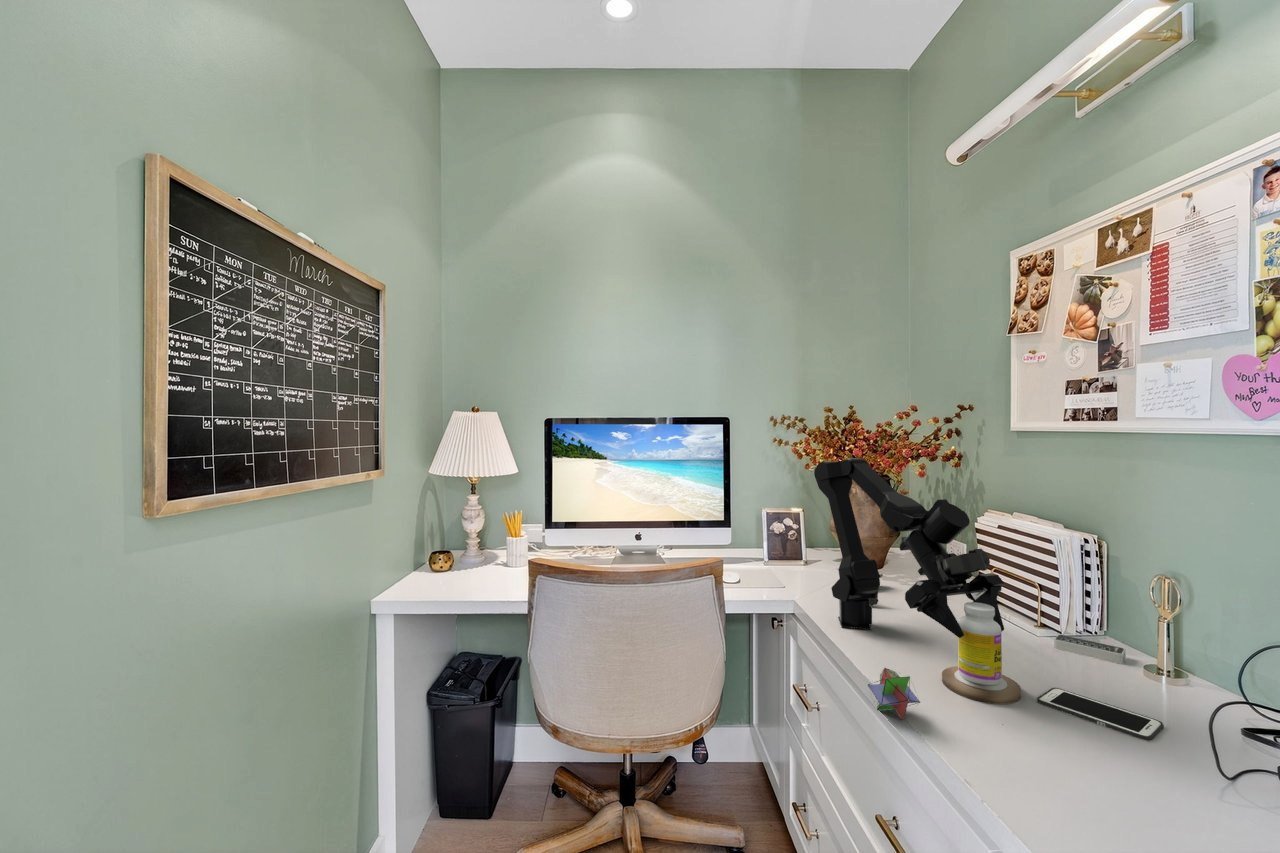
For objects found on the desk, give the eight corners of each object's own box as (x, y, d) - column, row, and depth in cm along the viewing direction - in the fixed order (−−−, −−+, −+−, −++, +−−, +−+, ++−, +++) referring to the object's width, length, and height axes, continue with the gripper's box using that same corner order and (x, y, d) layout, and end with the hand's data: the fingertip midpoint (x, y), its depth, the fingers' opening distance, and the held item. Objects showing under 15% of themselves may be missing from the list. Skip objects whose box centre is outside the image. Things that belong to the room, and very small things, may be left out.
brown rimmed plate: (954, 699, 95) (954, 690, 95) (933, 669, 106) (933, 662, 106) (1034, 707, 92) (1034, 698, 92) (1004, 675, 104) (1004, 667, 104)
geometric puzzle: (934, 714, 86) (914, 660, 90) (893, 718, 85) (875, 662, 89) (911, 723, 91) (893, 671, 96) (872, 726, 90) (856, 674, 95)
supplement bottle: (1000, 690, 95) (999, 614, 95) (955, 680, 99) (955, 607, 99) (1003, 676, 100) (1002, 604, 100) (960, 667, 104) (960, 598, 104)
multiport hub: (1058, 644, 120) (1058, 634, 120) (1125, 659, 112) (1125, 648, 112) (1053, 650, 117) (1053, 639, 117) (1122, 666, 109) (1122, 654, 109)
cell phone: (1053, 691, 98) (1053, 686, 98) (1165, 728, 86) (1165, 722, 86) (1034, 704, 94) (1034, 698, 94) (1150, 745, 82) (1150, 738, 82)
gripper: (916, 536, 101) (968, 617, 91) (995, 531, 107) (1053, 606, 96) (885, 569, 109) (930, 647, 98) (960, 562, 114) (1010, 635, 104)
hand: (982, 633), depth 99 cm, fingers open, 9 cm apart
